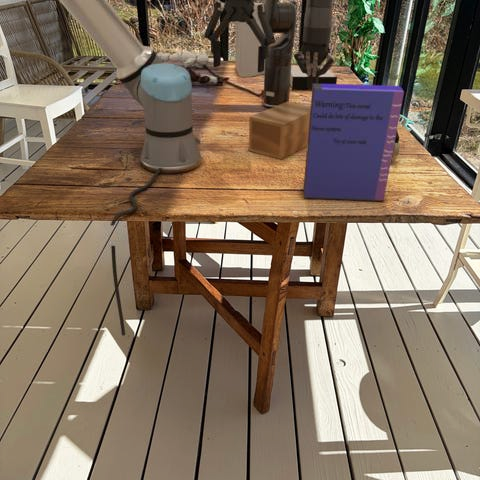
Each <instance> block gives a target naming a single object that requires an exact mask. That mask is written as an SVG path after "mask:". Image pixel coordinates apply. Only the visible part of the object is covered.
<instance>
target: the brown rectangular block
mask: <svg viewBox="0 0 480 480" xmlns="http://www.w3.org/2000/svg"><path fill="white" fill-rule="evenodd" d="M310 109H311V105H307V104H301V103H296V102H292V101H289V102H285V103H283V104H280V105H278V106H275V107H273V108H268V109H266V110H262V111H260V112H258V113H255V114H253V115H250V116H249V125H248V126H249V129H248V151H249V152H252V153H256V154H259V155H262V156H267V157H271V158H274V159H277V160H283V159H286V158H288V157H290V156H291V155H293V154H295V153H296V152H299V151H300V150H302V149H303V148H305V147H306V148H307V142H308V131H309V120H310Z"/></svg>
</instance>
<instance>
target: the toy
mask: <svg viewBox="0 0 480 480" xmlns="http://www.w3.org/2000/svg"><path fill="white" fill-rule="evenodd" d="M156 54H157V55H158V56H159V58H160V59H161V60H162V62H163V63H167V62H172V63H178V62H179V63H182V65H183V67H185V68H187V69H188V67H189V66H190V67H192V66H193V65H195V66H196V68H198V69H203V67H204V65H206V66H207V65H209V64H213V58H209V56H208V55H207V54H204V53H203V52H202V51H199V52H198V53H195V52H192V51H189V50H186V51H179V52H174V53H171V52H162V51H159V52H157V53H156ZM217 67H218V68H219V67H220V66H217Z"/></svg>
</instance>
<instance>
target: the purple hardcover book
mask: <svg viewBox="0 0 480 480" xmlns="http://www.w3.org/2000/svg"><path fill="white" fill-rule="evenodd" d="M404 94H405V91H404V90H403V88H402V87H401V86H399V85H380V84H379V85H377V84H376V85H375V84H344V83H343V84H341V83H336V84H313V87H312V90H311V99H310V106H311V109H310V120H309V131H308V142H307V146H306V153H305V154H306V155H305V165H304V177H303V188H302V189H303V190H302V191H303V197H304V199H317V200H343V201H344V200H345V201H346V200H347V201H366V202H367V201H368V202H369V201H370V202H384V201H385V195H386V190H387V184H388V178H389V174H390V168H391V164H392V158H393V156H392V153H393V148H394V142H395V137H396V132H398V126H399V120H400V115H401V111H402V104H403V100H404V99H403V98H404Z"/></svg>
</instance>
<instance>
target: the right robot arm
mask: <svg viewBox="0 0 480 480" xmlns="http://www.w3.org/2000/svg"><path fill="white" fill-rule="evenodd" d="M263 3H264V4H265V8H266V15H267V18H268V21H269V24H270V27H271V29H272V32H273V34H280V37H278V38H277V39H275V43H273V44H271V45H269V46H268V57H267V59H265V72H264V74H263V76H264V77H263V89H261V93H256V92H254V91H253V90H251V89H249V88H245V87H243V86H240V85H237V84H236V83H233V82H231V81H229V80H228V81H225V82H224V83H227V84H229V85H231V86H233V87H236V88H238V89H241V90H244V91H246V92H248V93H250V94H252V95H254V96H256V97H261V98H262V99H263V101H262V105H263V107H265V108H268V109H270V108H273V107H275V106H278V105H280V104H283V103H285V102H290V96H291V95H290V94H291V84H290V81H291V66H293V65H292V64H293V58H294V60H295V62H296V64H297V66H299V67H300V69H301V71H302V73H305V74H307V76H308V79H307V87H308V90H307V91H312V87H313V84H318V80H319V76H321V75H324V74H325V73H326V72H327V71H328V70H331V68H332V67H333V65H334V64H336V63H337V59H338V58H337V57H335V56H333V55H332V54H331V48H330V43H331V37H332V26H333V18H334V17H333V15H334V14H333V12H334V11H333V10H334V9H333V6H334V0H306V7H305V11H304V19H303V32H302V45H301V48H300V51H298V52H297V53H294V54H293V51H294V47H295V35H296V27H297V17H298V16H297V13H298V12H297V7H296V5H295V4H294V2H289V1H278V0H263ZM304 58H305V60H306V62H305V60H304ZM324 62H325V64H323V63H324ZM322 66H323V67H322ZM203 67H205V68H206V69H207V70H208V72H210V73H211V74H212V75H214V76H217V75H218V74H216V72H214V71H213V70H212V69H210V68H209V67H208V66H207V65H203ZM321 67H322V68H321ZM218 77H220V76H219V75H218Z"/></svg>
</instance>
